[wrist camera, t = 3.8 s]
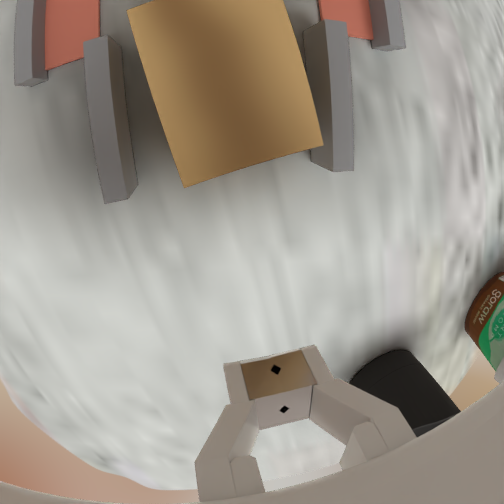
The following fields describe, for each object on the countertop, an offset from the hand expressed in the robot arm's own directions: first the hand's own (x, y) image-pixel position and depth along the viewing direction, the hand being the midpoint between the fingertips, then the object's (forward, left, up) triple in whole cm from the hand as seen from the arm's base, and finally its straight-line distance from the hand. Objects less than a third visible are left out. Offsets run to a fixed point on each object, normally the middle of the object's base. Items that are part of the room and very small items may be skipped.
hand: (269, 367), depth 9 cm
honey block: (0, -9, -10) cm, 14 cm away
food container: (-28, +13, -10) cm, 33 cm away
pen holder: (-14, +19, -10) cm, 26 cm away
